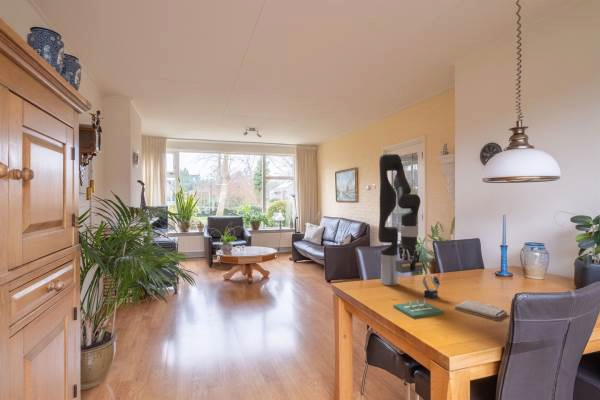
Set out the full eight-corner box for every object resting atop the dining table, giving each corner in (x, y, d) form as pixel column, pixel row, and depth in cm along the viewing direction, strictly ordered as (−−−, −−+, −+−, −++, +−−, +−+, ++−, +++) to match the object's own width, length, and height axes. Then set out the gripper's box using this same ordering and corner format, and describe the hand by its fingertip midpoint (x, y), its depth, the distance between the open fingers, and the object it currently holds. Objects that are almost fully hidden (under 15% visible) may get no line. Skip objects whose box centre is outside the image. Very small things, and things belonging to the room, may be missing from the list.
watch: (436, 299, 158) (436, 277, 157) (421, 296, 163) (420, 274, 163) (441, 297, 161) (441, 275, 161) (426, 293, 167) (425, 272, 167)
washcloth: (497, 322, 130) (497, 314, 130) (453, 310, 144) (453, 303, 144) (508, 315, 138) (508, 308, 138) (465, 304, 152) (465, 298, 152)
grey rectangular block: (401, 273, 152) (401, 262, 152) (395, 270, 157) (395, 260, 157) (422, 270, 156) (422, 260, 156) (416, 268, 161) (416, 258, 161)
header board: (393, 307, 148) (393, 297, 147) (422, 303, 152) (422, 293, 152) (412, 318, 134) (412, 307, 134) (443, 313, 139) (443, 303, 139)
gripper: (393, 233, 162) (394, 267, 162) (411, 237, 148) (412, 273, 149) (406, 233, 164) (406, 266, 165) (425, 236, 151) (425, 272, 151)
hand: (409, 269), depth 157 cm, fingers closed on grey rectangular block, 5 cm apart
